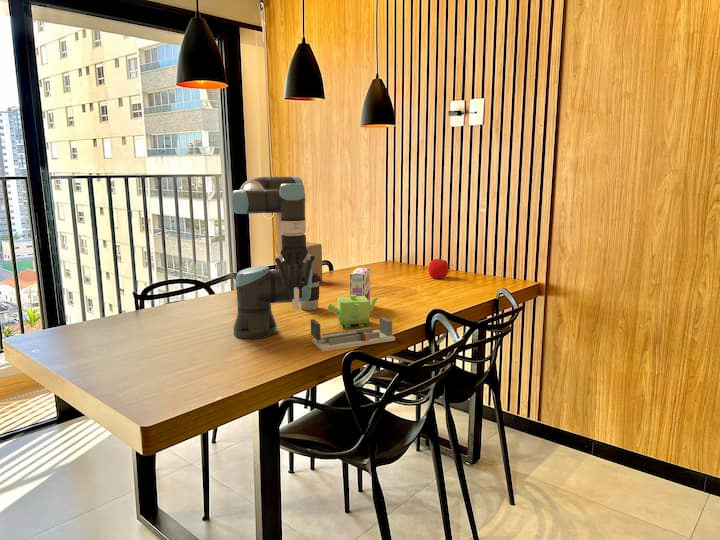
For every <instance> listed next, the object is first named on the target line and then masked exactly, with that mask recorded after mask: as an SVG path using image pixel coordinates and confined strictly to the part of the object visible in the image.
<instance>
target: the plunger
mask: <svg viewBox="0 0 720 540" xmlns="http://www.w3.org/2000/svg"><path fill="white" fill-rule="evenodd" d="M358 334H360V335H361V341H363V332H360V331H357V332H356V331H351V332H344V333H337V334H330V335H323V334H322V335H321V323H319V321H317V320H316V319H315V318H313V319H310V335H311V336H312V337H313V339H316V340H317V342H318V343H325V342H329V339H331V338H338V337H345V336H352V335H358Z"/></svg>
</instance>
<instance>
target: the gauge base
mask: <svg viewBox="0 0 720 540" xmlns="http://www.w3.org/2000/svg"><path fill="white" fill-rule="evenodd" d="M351 331H356V332H357V331H360V332H363V341H361V335H360V334H358V335H352V336H345V337H338V338H331V339H329V342H325V343H318V342H317V340H316V339H315V338H312V343H313V344H314V345H315V346H316V347H317V348H318V349H319V350H320V351H321V352H329V351H337V350H343V349H349V348H354V347H362V346H368V345H375V344H380V343H388V342H394V341H395V342H396V337H395V335H393V321H392V320H391V319H389V318H387V317H385V316H381V317H379V329H373V327H361V328H357V329H349V330H343V331H334V332H329V333H328V332H327V333H322V336H323V335H330V334H337V333H344V332H351ZM366 332H367V333H369V340H364V333H366Z"/></svg>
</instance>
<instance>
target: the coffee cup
mask: <svg viewBox="0 0 720 540" xmlns="http://www.w3.org/2000/svg"><path fill="white" fill-rule="evenodd" d="M319 281H321V277H320V276H318V275H317V273H315V272H312V285H311V296H310V299H309V300H308V301H303V302H299V307H300V309H301V310H303V311H315V310H317V309H318V308H319V298H320V287H321V286H320V282H319ZM321 282H322V281H321Z"/></svg>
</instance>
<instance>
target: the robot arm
mask: <svg viewBox="0 0 720 540" xmlns="http://www.w3.org/2000/svg"><path fill="white" fill-rule="evenodd" d="M231 198H232V199H231V200H232V210H233V213H234V214H238V215H239V214H241V215H246V214H248V215H249V214H276V223H277V225H276V226H277V241H278V244H277V245H278V256H275V257H274V258H273V261H274V262H275V264H276V265H275V270H274V269H273V270H271V269H270V267H269V265H268V266H267V265H259V266H258V265H257V266H253V267H247V268H243V269H242V270H239V271H238V272H237V274H236V276H235V277H236V278H235V280H236V283H235V287H236V301H237V302H236V303H237V313H236V318H235V322H234V325H233V335H234V336H235V337H236V338H237V337H238V338H240V339H248V340H249V339H250V340H251V339H252V340H253V339H262V338H267V337H271V336H273V335H275V334H277V332H278V328H277V322H276V319H275V318H274V315H273V312H272V304H283V303H285V304H287V303H292V305H291V306H292V307H291V308H292V309H293V310H294V311H297V310H300V302H303V301H308V300H309V299H310V296H311V285H312V269H311V265H312V262H313V260H314V259H315V256H313V255H311V254H309V253H308V251H307V249H306V243H307V236H306V233H307V232H306V231H307V230H306V229H307V228H306V189H305V185H304V182H303V180H302V179H301V177H299V176H291V175H289V176H259V177H254V178H251V179H249V180H246V181H244V182H243V183H242V185H240V187H239V189H235V190H233V191H232V193H231ZM305 257H306V263H305V262H304V261H303V260H304V259H305Z"/></svg>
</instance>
